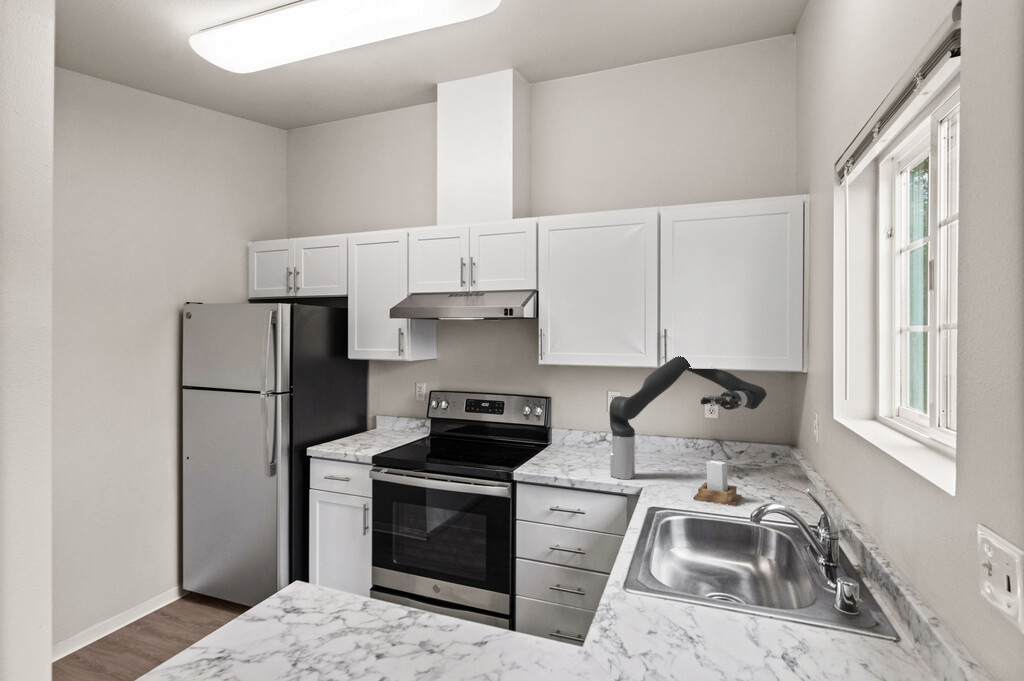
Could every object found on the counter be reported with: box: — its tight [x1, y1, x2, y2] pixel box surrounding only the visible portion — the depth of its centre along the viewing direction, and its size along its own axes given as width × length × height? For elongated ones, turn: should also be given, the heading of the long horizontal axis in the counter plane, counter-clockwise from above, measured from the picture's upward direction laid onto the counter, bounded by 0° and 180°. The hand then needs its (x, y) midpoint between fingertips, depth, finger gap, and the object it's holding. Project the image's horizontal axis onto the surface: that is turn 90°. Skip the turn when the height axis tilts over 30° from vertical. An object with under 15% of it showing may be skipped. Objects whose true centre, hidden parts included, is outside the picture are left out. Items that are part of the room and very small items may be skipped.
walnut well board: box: [692, 481, 742, 507], centre depth 198 cm, size 14×12×4 cm
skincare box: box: [706, 459, 729, 492], centre depth 198 cm, size 6×4×12 cm
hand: (711, 402), depth 219 cm, fingers open, 8 cm apart
